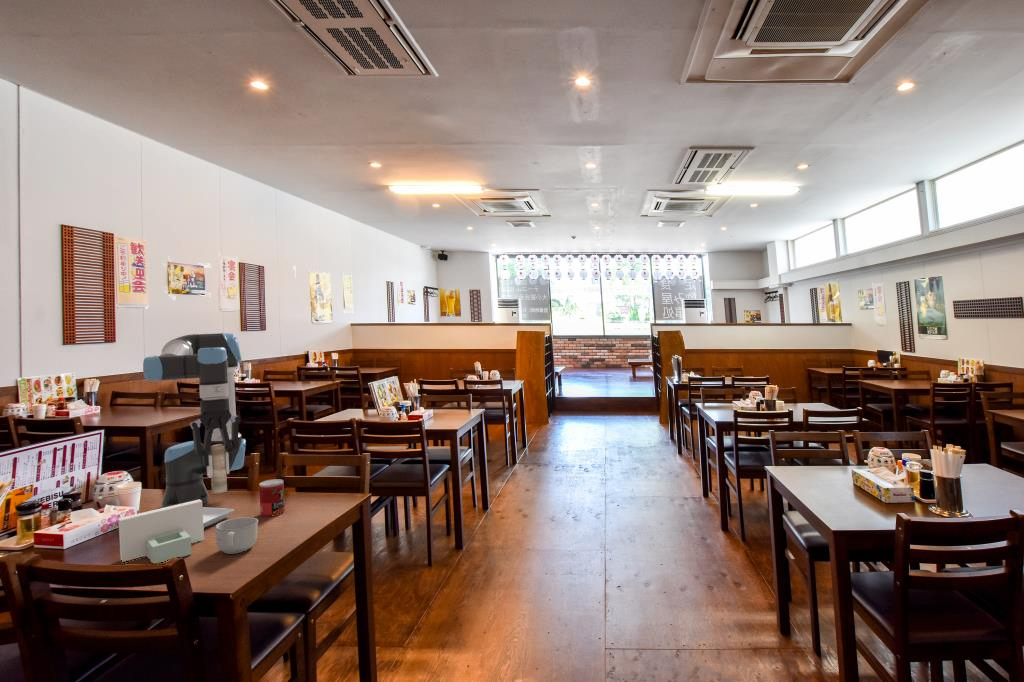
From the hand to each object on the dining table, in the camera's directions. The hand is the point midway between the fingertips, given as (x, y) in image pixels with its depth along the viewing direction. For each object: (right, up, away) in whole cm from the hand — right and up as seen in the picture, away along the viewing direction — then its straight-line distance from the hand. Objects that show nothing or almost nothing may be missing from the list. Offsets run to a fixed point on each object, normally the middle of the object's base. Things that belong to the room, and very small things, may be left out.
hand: (218, 474), depth 150 cm
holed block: (-9, -21, -9) cm, 24 cm away
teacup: (+10, -20, -8) cm, 24 cm away
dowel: (0, -5, 0) cm, 5 cm away
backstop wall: (-14, -21, -4) cm, 26 cm away
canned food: (+5, -20, +24) cm, 32 cm away
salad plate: (-20, -22, +14) cm, 33 cm away
